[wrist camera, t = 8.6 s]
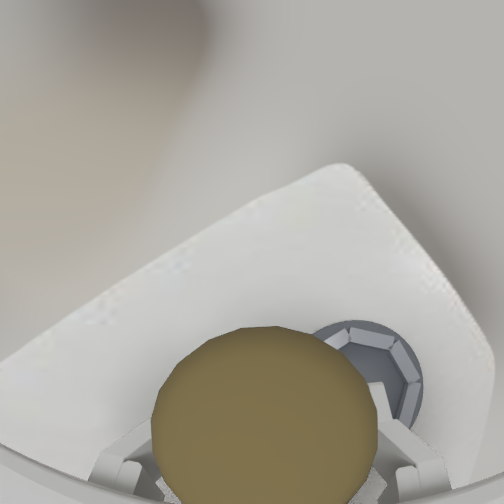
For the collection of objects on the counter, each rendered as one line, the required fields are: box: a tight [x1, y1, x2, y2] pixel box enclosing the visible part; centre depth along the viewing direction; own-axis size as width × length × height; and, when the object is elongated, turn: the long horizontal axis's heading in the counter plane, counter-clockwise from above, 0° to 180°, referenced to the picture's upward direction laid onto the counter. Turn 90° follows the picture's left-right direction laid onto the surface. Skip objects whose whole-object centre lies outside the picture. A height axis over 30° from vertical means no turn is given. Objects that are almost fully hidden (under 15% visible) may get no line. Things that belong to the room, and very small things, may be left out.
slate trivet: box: [313, 320, 423, 430], centre depth 24 cm, size 13×13×2 cm
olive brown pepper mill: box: [151, 326, 378, 504], centre depth 10 cm, size 6×6×11 cm
